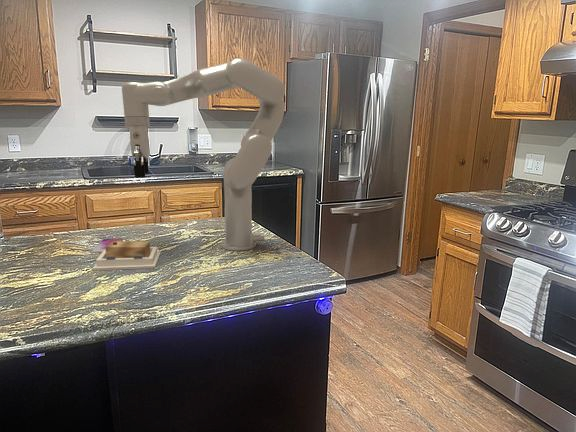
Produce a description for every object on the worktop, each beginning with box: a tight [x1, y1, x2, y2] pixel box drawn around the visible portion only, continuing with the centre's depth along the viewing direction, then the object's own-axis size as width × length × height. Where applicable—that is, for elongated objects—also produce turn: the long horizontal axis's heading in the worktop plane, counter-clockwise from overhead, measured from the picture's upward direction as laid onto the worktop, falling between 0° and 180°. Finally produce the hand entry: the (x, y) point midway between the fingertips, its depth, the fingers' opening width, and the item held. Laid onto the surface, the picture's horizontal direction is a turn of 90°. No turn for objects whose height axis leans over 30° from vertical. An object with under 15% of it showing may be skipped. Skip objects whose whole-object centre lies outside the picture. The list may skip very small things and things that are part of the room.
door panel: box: [105, 240, 151, 258], centre depth 136 cm, size 12×6×6 cm, turn 93°
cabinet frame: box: [92, 246, 162, 272], centre depth 136 cm, size 18×14×4 cm
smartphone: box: [89, 238, 124, 254], centre depth 151 cm, size 7×1×15 cm
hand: (142, 175), depth 142 cm, fingers open, 9 cm apart
